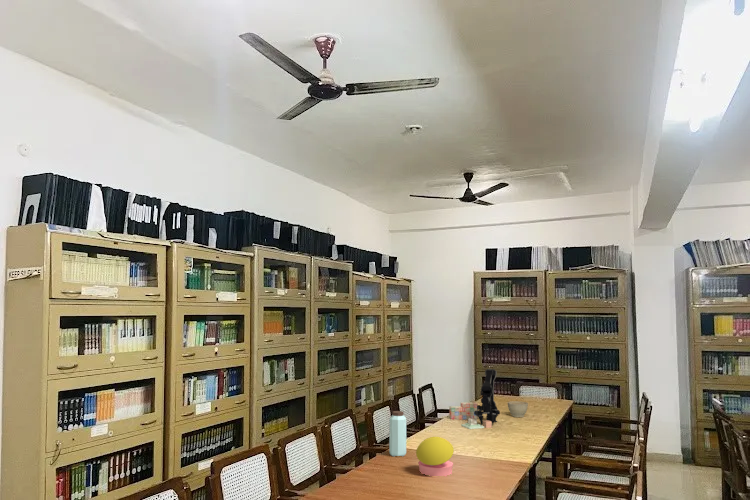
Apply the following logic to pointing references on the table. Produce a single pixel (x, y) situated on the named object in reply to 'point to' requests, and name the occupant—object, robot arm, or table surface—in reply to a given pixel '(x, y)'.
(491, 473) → the table surface
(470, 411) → the stack of blocks
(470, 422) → the cream brick
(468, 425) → the baseplate
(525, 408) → the planter bowl
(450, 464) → the yellow egg on stand
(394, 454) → the water bottle
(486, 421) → the salmon pink cube
